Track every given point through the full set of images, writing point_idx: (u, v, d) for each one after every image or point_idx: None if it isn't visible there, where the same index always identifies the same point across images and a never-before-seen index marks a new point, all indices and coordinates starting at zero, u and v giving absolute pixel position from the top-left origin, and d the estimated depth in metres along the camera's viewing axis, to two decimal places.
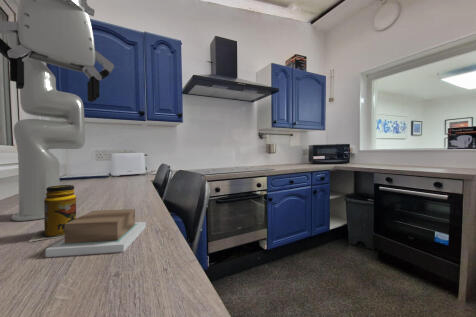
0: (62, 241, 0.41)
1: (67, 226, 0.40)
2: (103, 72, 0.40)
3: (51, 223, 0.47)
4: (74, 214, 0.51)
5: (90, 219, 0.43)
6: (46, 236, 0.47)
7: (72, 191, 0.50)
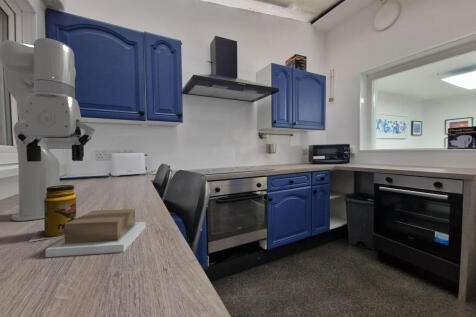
0: (62, 241, 0.41)
1: (67, 226, 0.40)
2: None
3: (51, 223, 0.47)
4: (74, 214, 0.51)
5: (90, 219, 0.43)
6: (46, 236, 0.47)
7: (72, 191, 0.50)
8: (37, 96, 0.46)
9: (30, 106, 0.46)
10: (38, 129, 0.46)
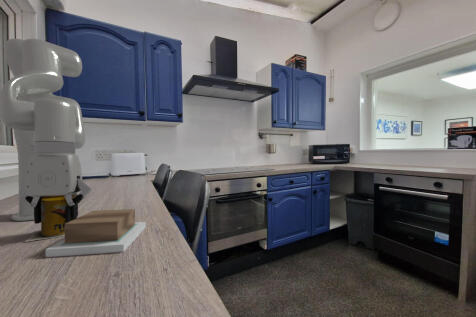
0: (62, 241, 0.41)
1: (67, 226, 0.40)
2: None
3: (47, 223, 0.47)
4: None
5: (90, 219, 0.43)
6: (43, 236, 0.47)
7: None
8: (38, 156, 0.46)
9: (31, 166, 0.46)
10: (39, 189, 0.46)
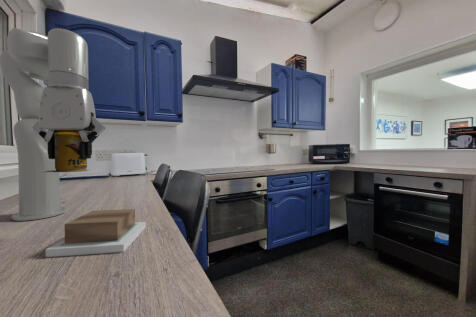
0: (62, 241, 0.41)
1: (67, 226, 0.40)
2: None
3: (61, 157, 0.45)
4: None
5: (90, 219, 0.43)
6: (56, 171, 0.46)
7: None
8: (51, 88, 0.45)
9: (44, 98, 0.45)
10: (53, 122, 0.45)
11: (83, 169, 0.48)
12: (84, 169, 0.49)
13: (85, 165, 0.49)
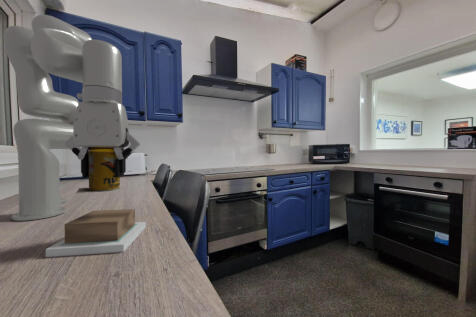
0: (62, 241, 0.41)
1: (67, 226, 0.40)
2: None
3: (97, 175, 0.43)
4: None
5: (90, 219, 0.43)
6: (91, 190, 0.43)
7: None
8: (87, 103, 0.43)
9: (79, 114, 0.42)
10: (88, 139, 0.42)
11: (117, 187, 0.46)
12: (118, 187, 0.46)
13: (119, 183, 0.47)
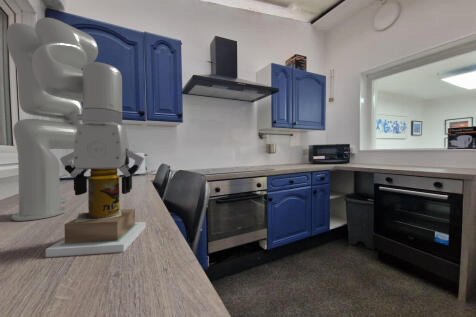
0: (62, 241, 0.41)
1: (67, 226, 0.40)
2: None
3: (96, 203, 0.43)
4: (118, 195, 0.47)
5: None
6: (91, 217, 0.43)
7: (116, 170, 0.47)
8: (87, 125, 0.43)
9: (79, 136, 0.42)
10: (88, 161, 0.43)
11: (116, 213, 0.46)
12: (117, 212, 0.47)
13: (118, 208, 0.47)
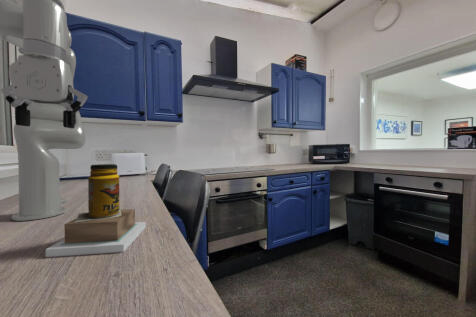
0: (62, 241, 0.41)
1: (67, 226, 0.40)
2: None
3: (96, 203, 0.43)
4: (118, 195, 0.47)
5: None
6: (91, 217, 0.43)
7: (116, 170, 0.47)
8: (27, 56, 0.44)
9: (19, 66, 0.44)
10: (28, 91, 0.45)
11: (116, 213, 0.46)
12: (117, 212, 0.47)
13: (118, 208, 0.47)
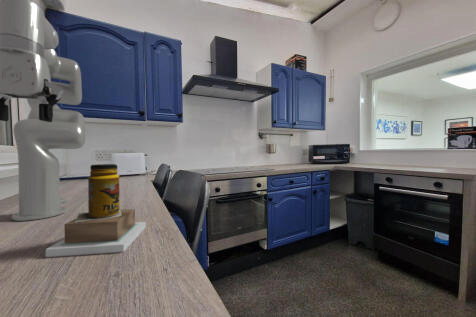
0: (62, 241, 0.41)
1: (67, 226, 0.40)
2: None
3: (96, 203, 0.43)
4: (118, 195, 0.47)
5: None
6: (91, 217, 0.43)
7: (116, 170, 0.47)
8: (2, 51, 0.45)
9: None
10: (3, 85, 0.45)
11: (116, 213, 0.46)
12: (117, 212, 0.47)
13: (118, 208, 0.47)
